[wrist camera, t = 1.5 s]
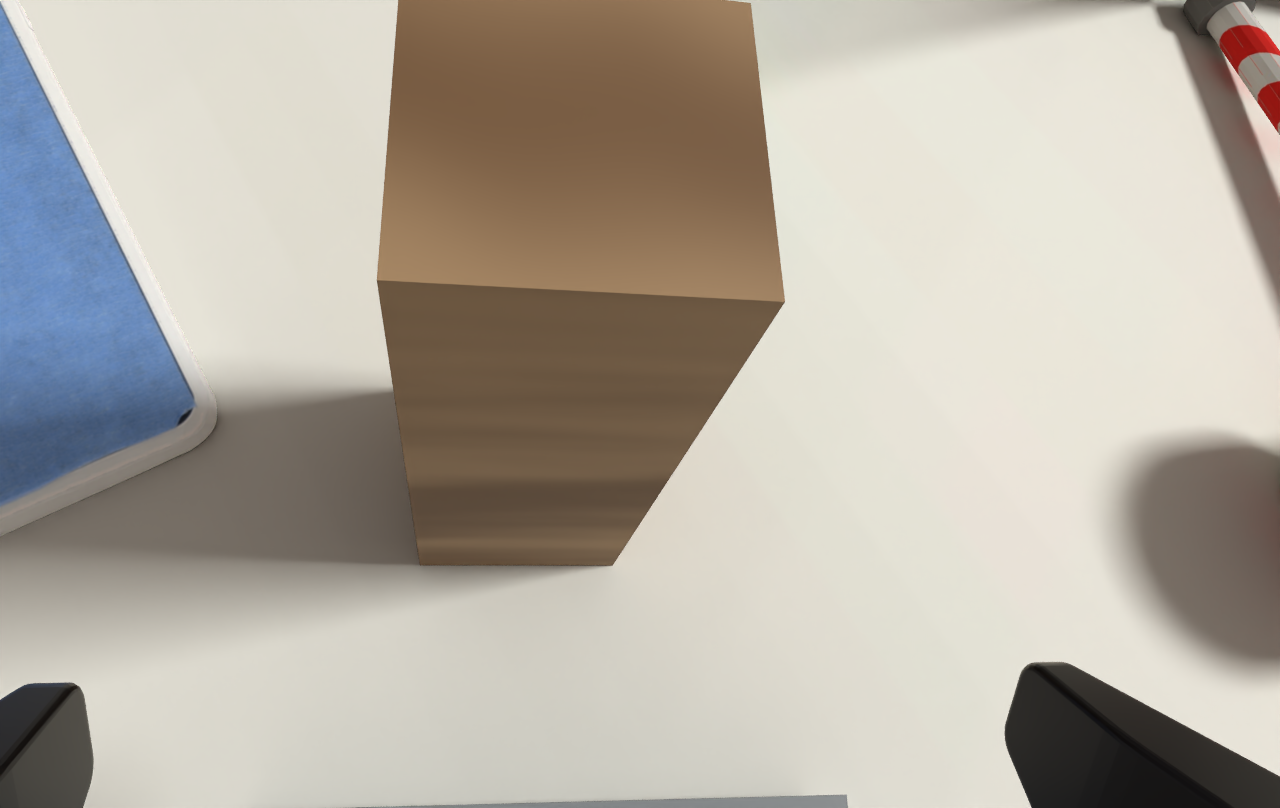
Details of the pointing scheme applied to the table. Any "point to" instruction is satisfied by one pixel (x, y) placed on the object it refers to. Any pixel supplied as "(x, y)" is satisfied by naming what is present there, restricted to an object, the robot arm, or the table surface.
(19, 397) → the tablet computer
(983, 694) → the table surface
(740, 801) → the tray
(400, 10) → the walnut block
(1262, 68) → the toy hammer
